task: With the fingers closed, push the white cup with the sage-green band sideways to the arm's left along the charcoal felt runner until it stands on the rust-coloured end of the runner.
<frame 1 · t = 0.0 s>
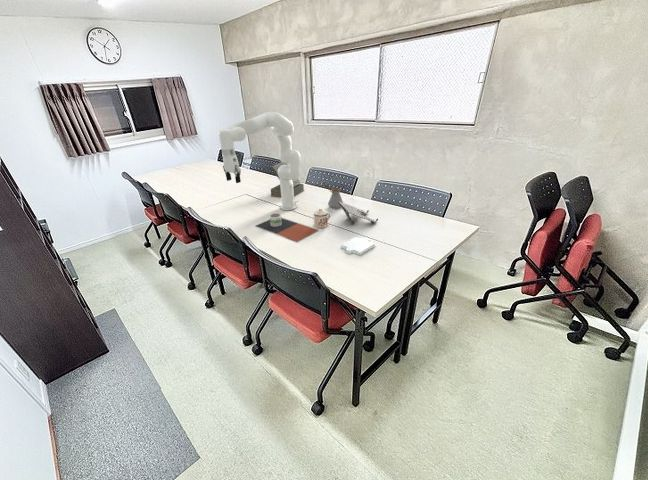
hand: (233, 181, 176), 31 cm above the table, tool pointing down, fingers open, 9 cm apart
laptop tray: (357, 220, 190), on the table
teacup with lid: (322, 225, 187), on the table
cup: (276, 224, 192), resting on felt runner
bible: (287, 193, 248), on the table
felt runner: (260, 219, 202), on the table
coffee pot: (331, 205, 216), on the table
mounting plate: (357, 247, 159), on the table
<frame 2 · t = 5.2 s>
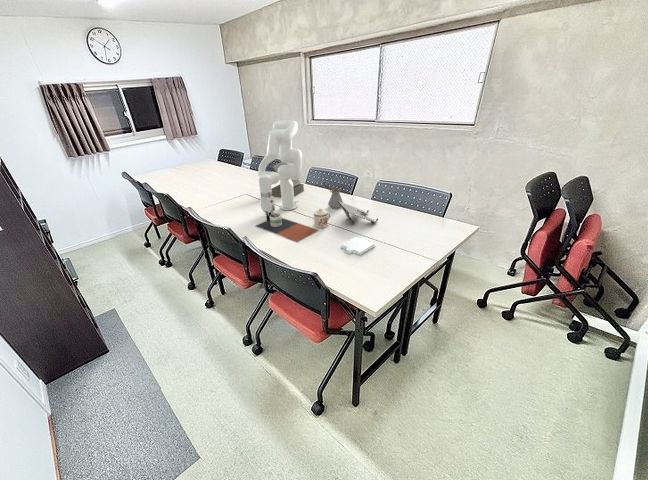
hand: (269, 220, 196), 2 cm above the table, tool pointing down, fingers closed
cup: (276, 224, 192), resting on felt runner, touching gripper
everything else where it was.
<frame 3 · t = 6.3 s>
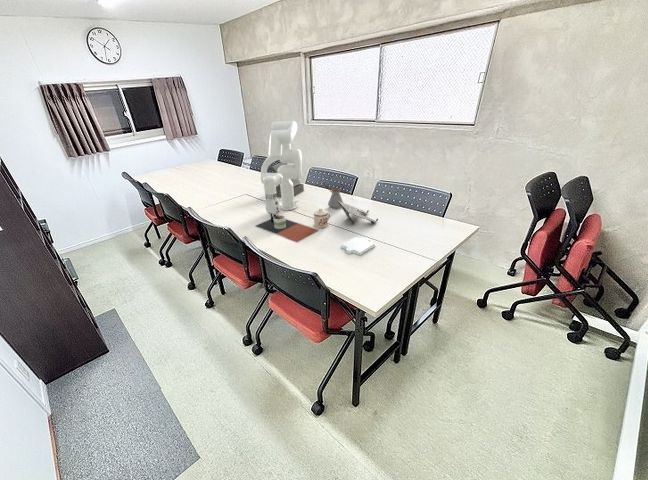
hand: (273, 222, 193), 1 cm above the table, tool pointing down, fingers closed
cup: (280, 226, 189), resting on felt runner, touching gripper
everything else where it was.
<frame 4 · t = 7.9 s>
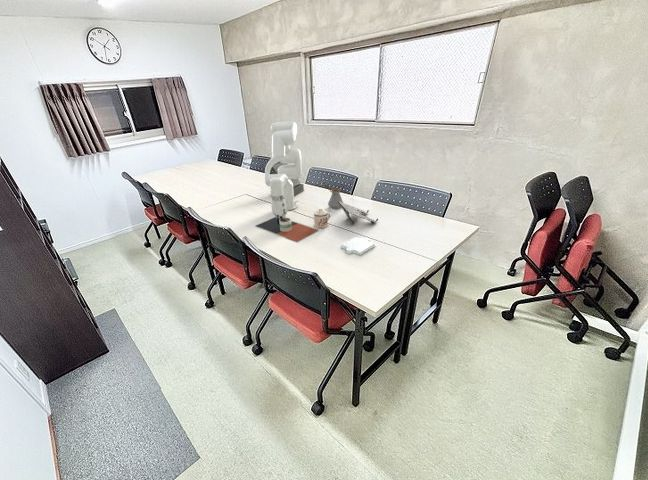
hand: (280, 224, 189), 2 cm above the table, tool pointing down, fingers closed
cup: (286, 229, 185), resting on felt runner, touching gripper
everything else where it was.
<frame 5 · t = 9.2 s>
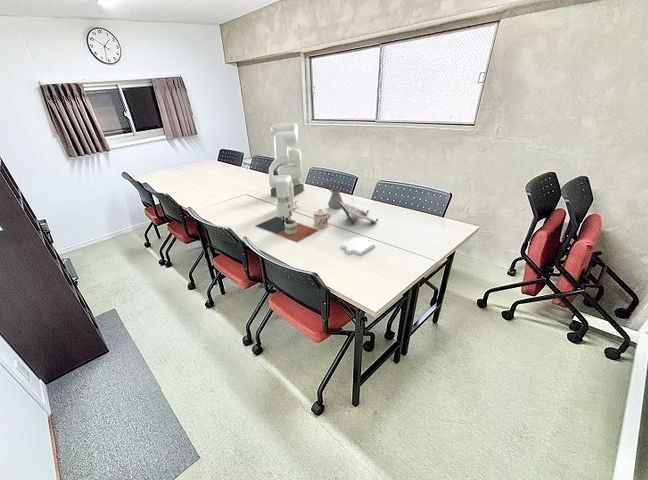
hand: (285, 226, 186), 2 cm above the table, tool pointing down, fingers closed
cup: (290, 231, 181), resting on felt runner, touching gripper
everything else where it was.
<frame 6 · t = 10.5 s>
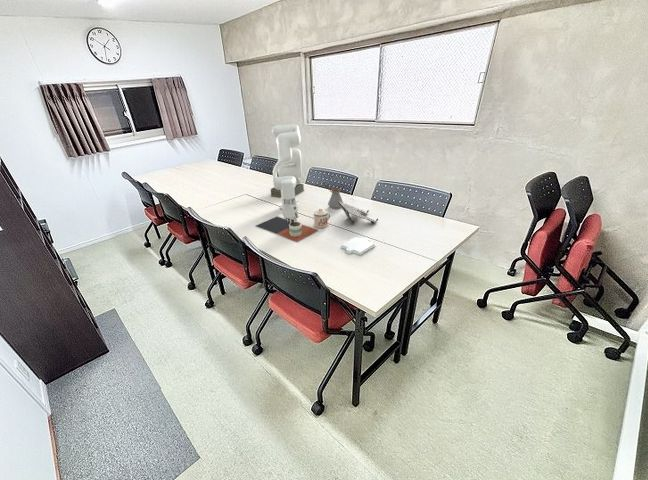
hand: (291, 228, 183), 2 cm above the table, tool pointing down, fingers closed
cup: (295, 233, 178), resting on felt runner, touching gripper
everything else where it was.
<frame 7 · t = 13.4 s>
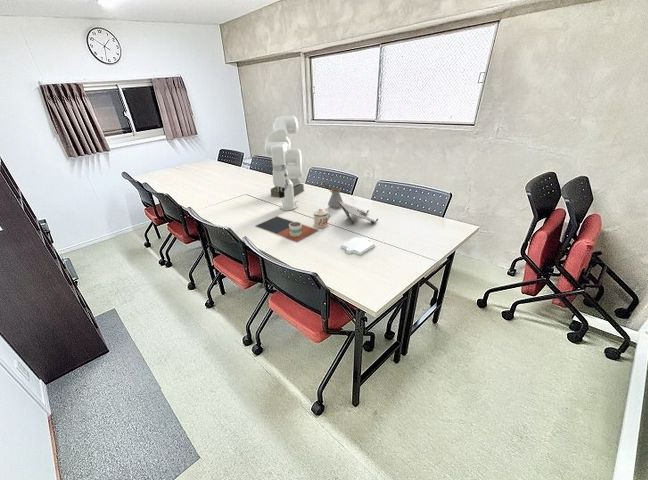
hand: (282, 197, 178), 20 cm above the table, tool pointing down, fingers closed
cup: (295, 233, 178), resting on felt runner
everything else where it was.
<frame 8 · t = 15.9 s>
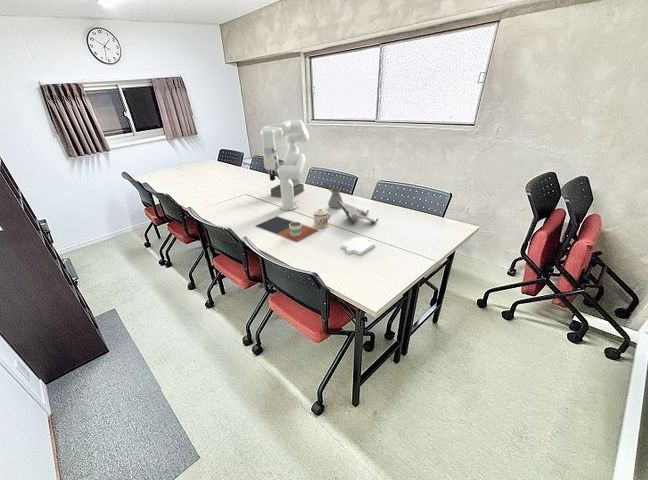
hand: (272, 180, 188), 27 cm above the table, tool pointing down, fingers closed
nothing on the table moved.
at the end: cup inside the target area (3.1 cm from its centre), resting on felt runner; cup tilted 0°; the gripper is holding nothing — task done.
